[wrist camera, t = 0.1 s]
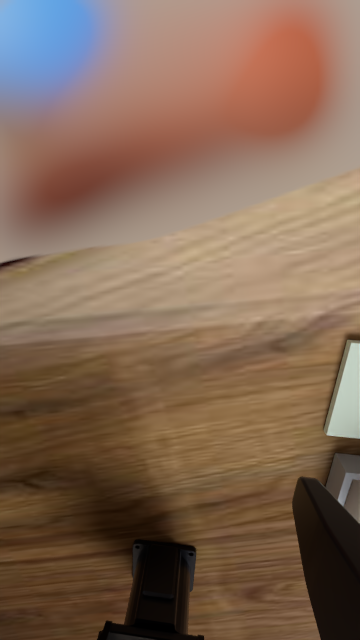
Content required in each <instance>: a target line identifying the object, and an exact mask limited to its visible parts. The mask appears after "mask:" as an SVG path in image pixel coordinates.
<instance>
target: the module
mask: <svg viewBox="0 0 360 640" xmlns="http://www.w3.org/2000/svg"><path fill="white" fill-rule="evenodd" d="M344 508H345V509H346V510H347V511H348V512H349V513H350V514H351V515H352V516H353V517H354V518H355V519H356V520H357V521H358V522H359V523H360V480H353V482H352V485H351V488H350V491H349V494H348V497H347V500H346V503H345V506H344Z"/></svg>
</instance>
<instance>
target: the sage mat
mask: <svg viewBox="0 0 360 640" xmlns="http://www.w3.org/2000/svg"><path fill="white" fill-rule="evenodd" d="M324 432H325V433H326V435H329V436H338V437H348V438H358V439H360V341H358V340H347V343H346V347H345V351H344V355H343V358H342V362H341V366H340V370H339V374H338V377H337V381H336V385H335V389H334V393H333V396H332V400H331V404H330V408H329V412H328V415H327V419H326V423H325V427H324Z"/></svg>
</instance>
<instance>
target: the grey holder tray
mask: <svg viewBox="0 0 360 640" xmlns="http://www.w3.org/2000/svg"><path fill="white" fill-rule="evenodd" d="M352 479H353V480H360V455H350V454H341V453H335V456H334V459H333V463H332V466H331V470H330V473H329V477H328V480H327V484H326V487H325V488H326V489H327V490H328V491H329V492H330V493H331V494H332V495H333V496H334V497H335V498H336V499H337V500H338V501H339V502H340V504H341V505H342V506H343V507H344V504H345V501H346V498H347V494H348V491H349V488H350V485H351V482H352Z"/></svg>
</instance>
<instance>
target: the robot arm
mask: <svg viewBox="0 0 360 640" xmlns="http://www.w3.org/2000/svg"><path fill="white" fill-rule="evenodd" d="M292 508H293V514H294V520H295V526H296V531H297V537H298V543H299V548H300V554H301V560H302V565H303V571H304V576H305V581H306V585H307V589H308V593H309V597H310V601H311V605H312V608H313V612H314V616H315V619H316V623H317V627H318V630H319V634H320V638H321V640H360V523H359V522H358V521H357V520H356V519H355V518H354V517H353V516H352V515H351V514H350V513H349V512H348V511H347V510H346V509H345V508H344V507H343V506H342V505H341V504H340V502H339V501H338V500H337V499H336V498H335V497H334V496H333V495H332V494H331V493H330V492H329V491H328V490H327V489H326V488H325V487H324V486H323V485H322V484H321V483H320V482H319V481H318V480H317V479H315V478H310V477H299V478H298V480H297V484H296V488H295V492H294V496H293V501H292ZM195 561H196V549H195V548H194V547H191V546H183V545H175V544H168V543H160V542H153V541H145V540H135V541H134V543H133V584H132V588H131V593H130V598H129V603H128V608H127V613H126V617H125V622H124V625H123V624H116V623H112V621H106V623H105V626H104V629H103V630H102V631H100V632H99V635H98V639H97V640H204V636H203V635H198V636H193V635H187V634H188V614H189V593H190V592H191V591H192V590H193V581H194V571H195Z"/></svg>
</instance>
